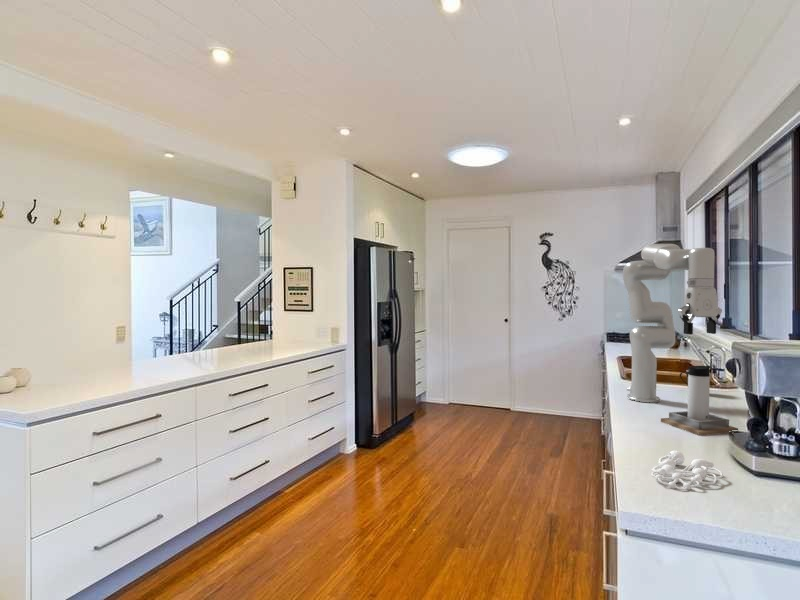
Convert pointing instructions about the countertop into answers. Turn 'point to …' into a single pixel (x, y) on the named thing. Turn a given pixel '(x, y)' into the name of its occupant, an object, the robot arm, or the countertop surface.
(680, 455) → the tangled rod sculpture
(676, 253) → the robot arm
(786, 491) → the countertop surface
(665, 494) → the countertop surface
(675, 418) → the frame
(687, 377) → the coffee mug
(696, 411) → the travel mug
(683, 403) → the countertop surface
